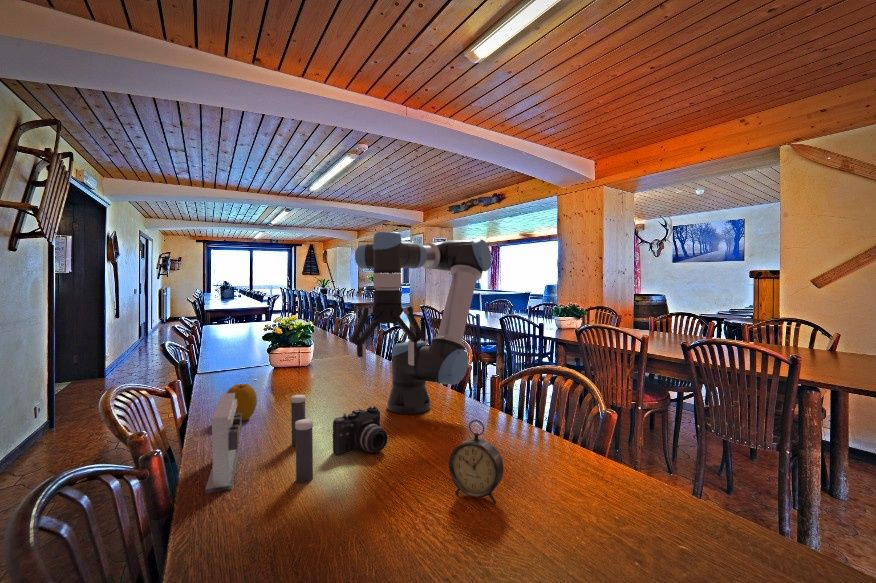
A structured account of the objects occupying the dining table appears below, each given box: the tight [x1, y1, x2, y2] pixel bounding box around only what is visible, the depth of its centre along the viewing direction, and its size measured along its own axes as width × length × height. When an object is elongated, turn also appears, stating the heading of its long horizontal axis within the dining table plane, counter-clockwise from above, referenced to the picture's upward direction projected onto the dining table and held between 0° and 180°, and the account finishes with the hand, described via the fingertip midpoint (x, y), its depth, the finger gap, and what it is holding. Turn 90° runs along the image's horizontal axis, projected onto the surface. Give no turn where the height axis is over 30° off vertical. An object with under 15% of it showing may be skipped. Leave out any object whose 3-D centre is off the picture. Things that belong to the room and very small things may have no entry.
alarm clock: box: [448, 419, 505, 505], centre depth 88 cm, size 11×5×16 cm, turn 62°
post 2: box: [295, 418, 314, 484], centre depth 95 cm, size 4×4×13 cm
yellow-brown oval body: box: [226, 383, 258, 422], centre depth 135 cm, size 10×10×12 cm
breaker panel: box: [204, 392, 243, 495], centre depth 99 cm, size 6×20×16 cm, turn 22°
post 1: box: [290, 394, 306, 448], centre depth 115 cm, size 4×4×13 cm
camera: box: [332, 405, 388, 457], centre depth 111 cm, size 14×11×10 cm
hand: (387, 367), depth 115 cm, fingers open, 13 cm apart
